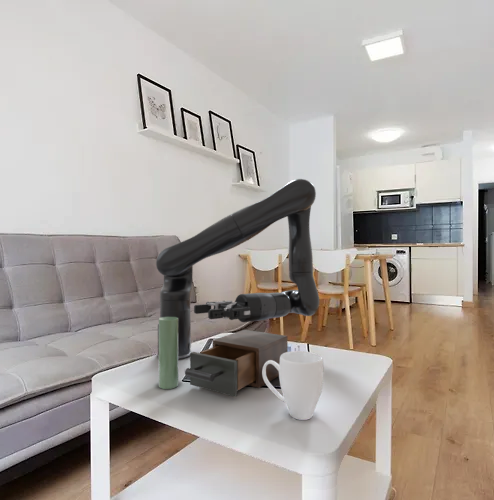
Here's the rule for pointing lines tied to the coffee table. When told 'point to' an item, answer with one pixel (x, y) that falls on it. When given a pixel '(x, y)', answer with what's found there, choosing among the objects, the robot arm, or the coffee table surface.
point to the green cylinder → (168, 352)
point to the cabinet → (258, 350)
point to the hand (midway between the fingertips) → (201, 312)
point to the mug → (298, 382)
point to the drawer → (222, 369)
